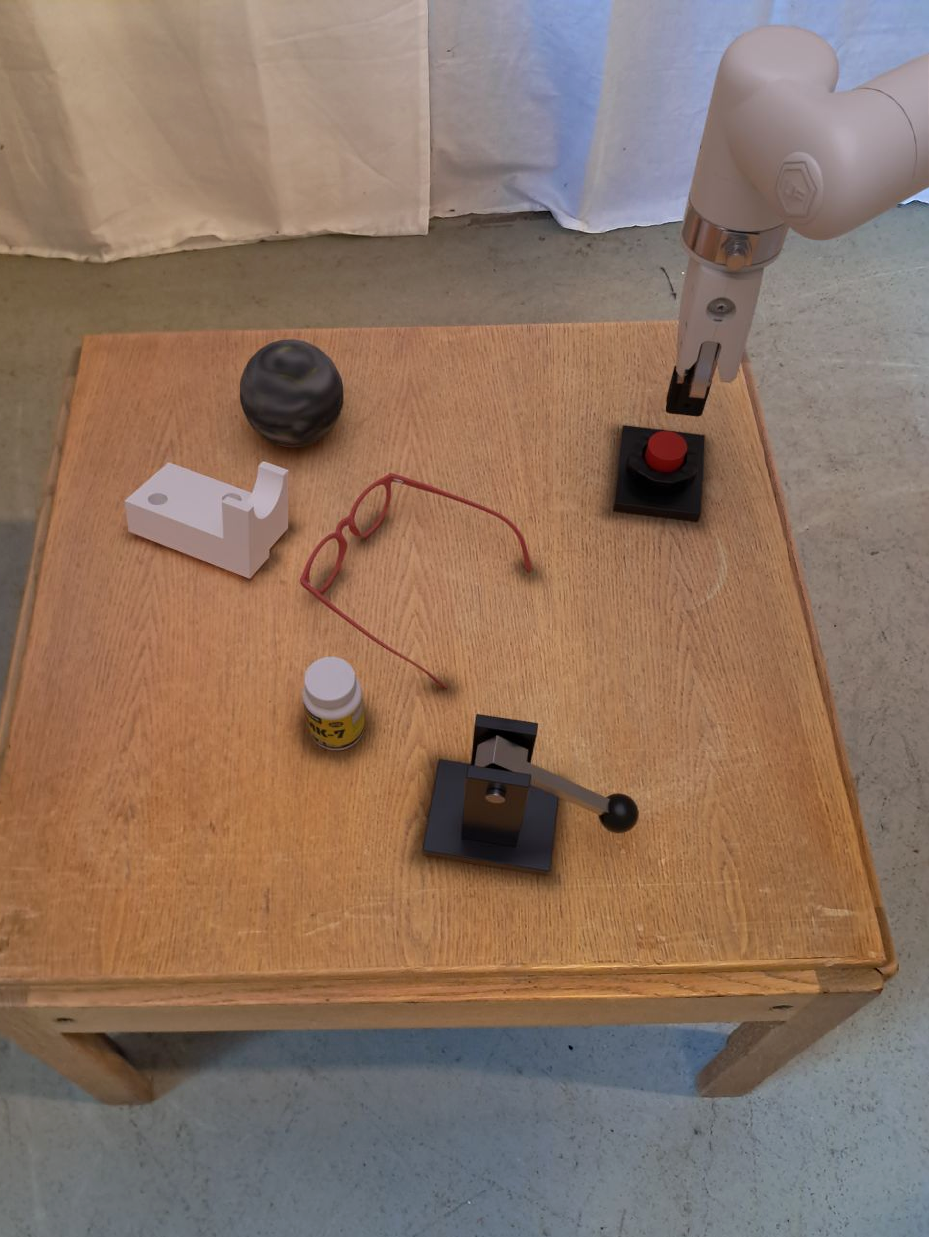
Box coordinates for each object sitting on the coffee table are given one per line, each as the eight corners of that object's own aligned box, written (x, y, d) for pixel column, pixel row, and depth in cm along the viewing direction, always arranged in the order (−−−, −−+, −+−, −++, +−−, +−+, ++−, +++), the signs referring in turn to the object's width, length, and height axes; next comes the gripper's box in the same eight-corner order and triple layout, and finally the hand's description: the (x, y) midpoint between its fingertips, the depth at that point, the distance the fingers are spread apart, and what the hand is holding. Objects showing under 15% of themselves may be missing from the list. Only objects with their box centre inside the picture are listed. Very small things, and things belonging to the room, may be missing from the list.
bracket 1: (287, 536, 97) (288, 470, 91) (249, 578, 92) (248, 511, 87) (171, 492, 100) (165, 425, 94) (128, 531, 95) (119, 463, 89)
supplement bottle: (299, 740, 85) (287, 692, 78) (323, 695, 87) (313, 643, 80) (352, 760, 84) (345, 712, 77) (374, 713, 86) (369, 662, 79)
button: (646, 441, 97) (649, 428, 96) (683, 446, 97) (688, 433, 95) (643, 470, 96) (647, 457, 94) (682, 474, 95) (686, 462, 94)
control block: (620, 433, 101) (626, 411, 99) (702, 443, 101) (709, 421, 98) (612, 511, 97) (618, 490, 94) (697, 522, 96) (705, 501, 93)
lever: (621, 806, 79) (648, 797, 76) (618, 842, 77) (646, 834, 75) (475, 740, 73) (500, 728, 71) (469, 778, 72) (494, 766, 69)
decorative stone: (356, 458, 100) (349, 382, 91) (256, 477, 99) (239, 402, 90) (336, 387, 105) (328, 308, 96) (241, 404, 104) (224, 326, 95)
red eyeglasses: (393, 490, 98) (392, 454, 94) (538, 562, 94) (544, 528, 89) (287, 616, 91) (280, 584, 87) (438, 701, 87) (439, 671, 82)
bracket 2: (559, 783, 83) (580, 710, 72) (548, 876, 79) (568, 814, 68) (438, 764, 84) (440, 689, 73) (422, 855, 80) (421, 790, 69)
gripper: (788, 295, 70) (724, 476, 86) (787, 165, 77) (728, 354, 93) (678, 285, 71) (635, 466, 87) (688, 157, 78) (646, 346, 94)
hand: (683, 408), depth 90 cm, fingers closed
